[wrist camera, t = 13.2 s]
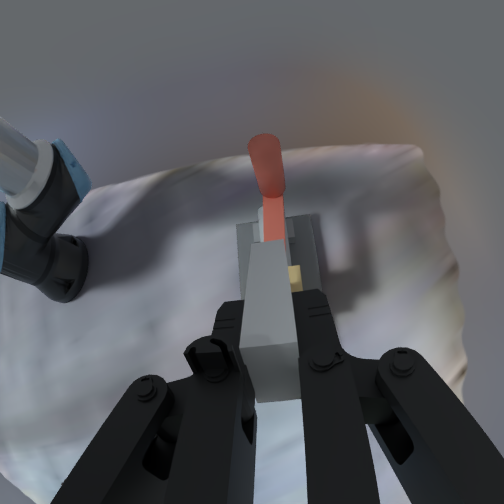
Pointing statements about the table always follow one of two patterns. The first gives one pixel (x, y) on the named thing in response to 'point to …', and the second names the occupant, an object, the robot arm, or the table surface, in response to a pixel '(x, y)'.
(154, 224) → the table surface
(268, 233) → the lever
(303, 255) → the valve base
